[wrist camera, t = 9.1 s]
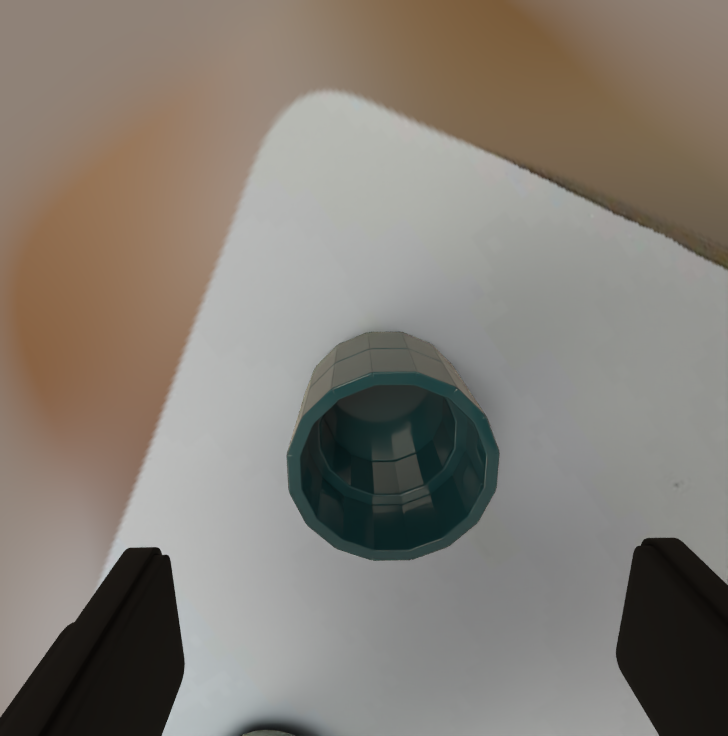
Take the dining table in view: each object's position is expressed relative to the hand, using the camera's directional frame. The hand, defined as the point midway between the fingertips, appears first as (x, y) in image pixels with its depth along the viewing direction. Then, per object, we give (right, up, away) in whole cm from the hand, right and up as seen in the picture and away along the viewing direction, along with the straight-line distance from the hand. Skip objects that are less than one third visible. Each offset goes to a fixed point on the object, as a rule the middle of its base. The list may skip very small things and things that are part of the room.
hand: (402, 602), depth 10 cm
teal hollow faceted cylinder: (0, +3, +10) cm, 10 cm away
